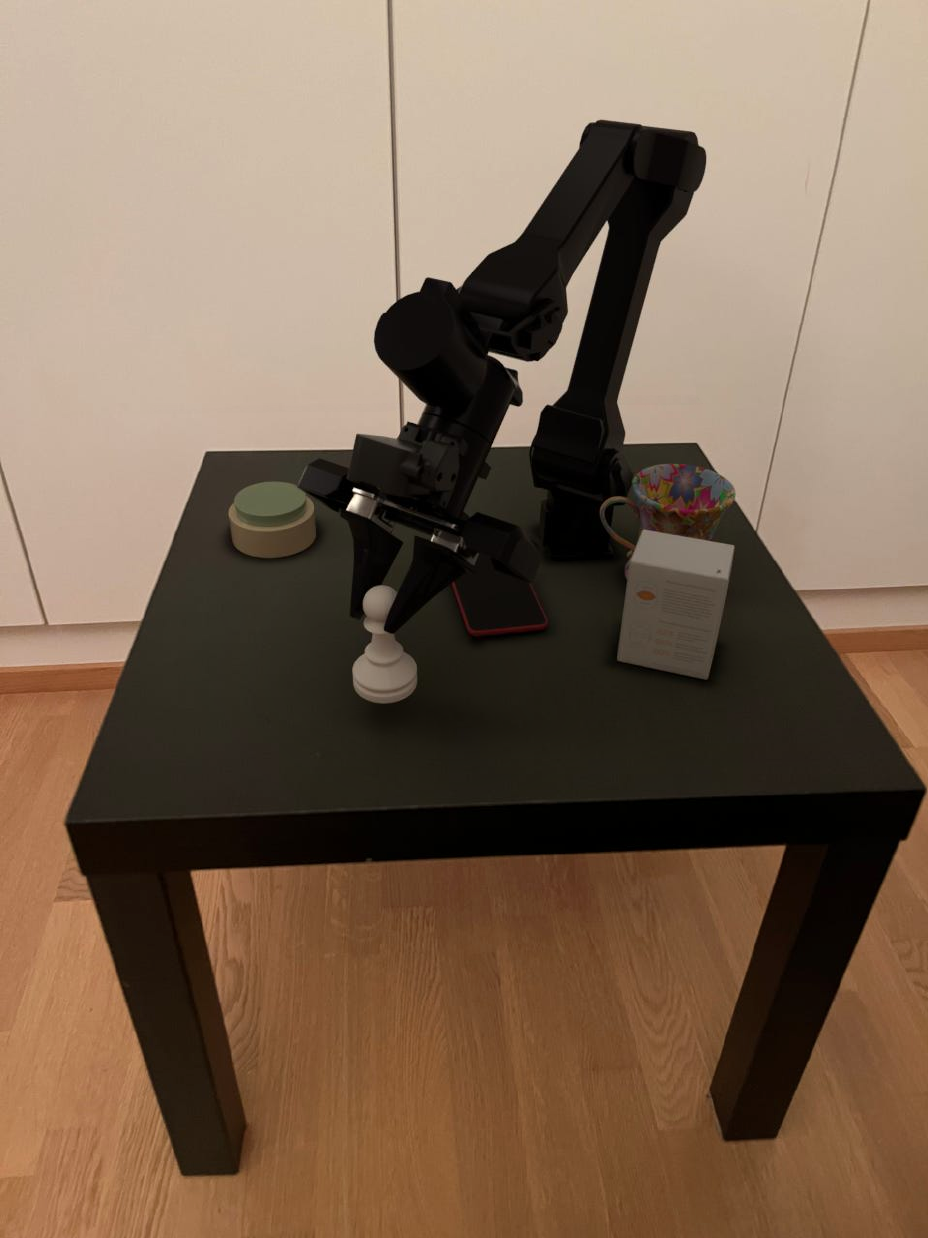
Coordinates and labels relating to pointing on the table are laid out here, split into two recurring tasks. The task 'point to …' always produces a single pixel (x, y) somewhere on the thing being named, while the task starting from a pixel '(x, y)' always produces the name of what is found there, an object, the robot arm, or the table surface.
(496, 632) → the smartphone
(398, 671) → the chess pawn
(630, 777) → the table surface
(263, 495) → the push button
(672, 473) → the mug
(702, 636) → the small box
